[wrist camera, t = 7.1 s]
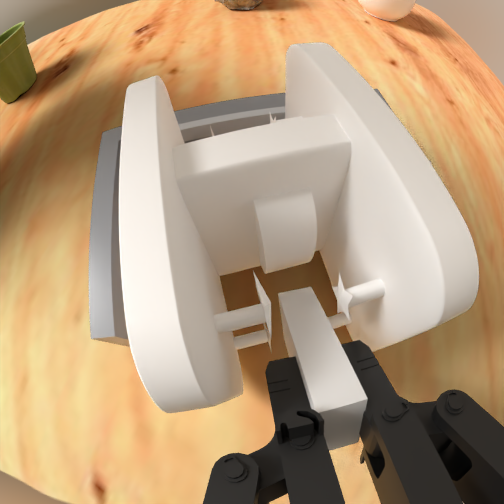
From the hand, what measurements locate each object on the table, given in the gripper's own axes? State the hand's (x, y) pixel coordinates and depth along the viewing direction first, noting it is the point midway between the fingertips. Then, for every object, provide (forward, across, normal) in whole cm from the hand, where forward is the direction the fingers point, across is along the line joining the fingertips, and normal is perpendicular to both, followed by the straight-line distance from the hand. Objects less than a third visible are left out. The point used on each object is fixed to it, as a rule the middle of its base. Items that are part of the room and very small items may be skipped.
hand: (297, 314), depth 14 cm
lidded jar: (+35, +28, +27) cm, 52 cm away
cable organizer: (+6, 0, 0) cm, 6 cm away
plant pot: (+33, -34, +26) cm, 54 cm away
